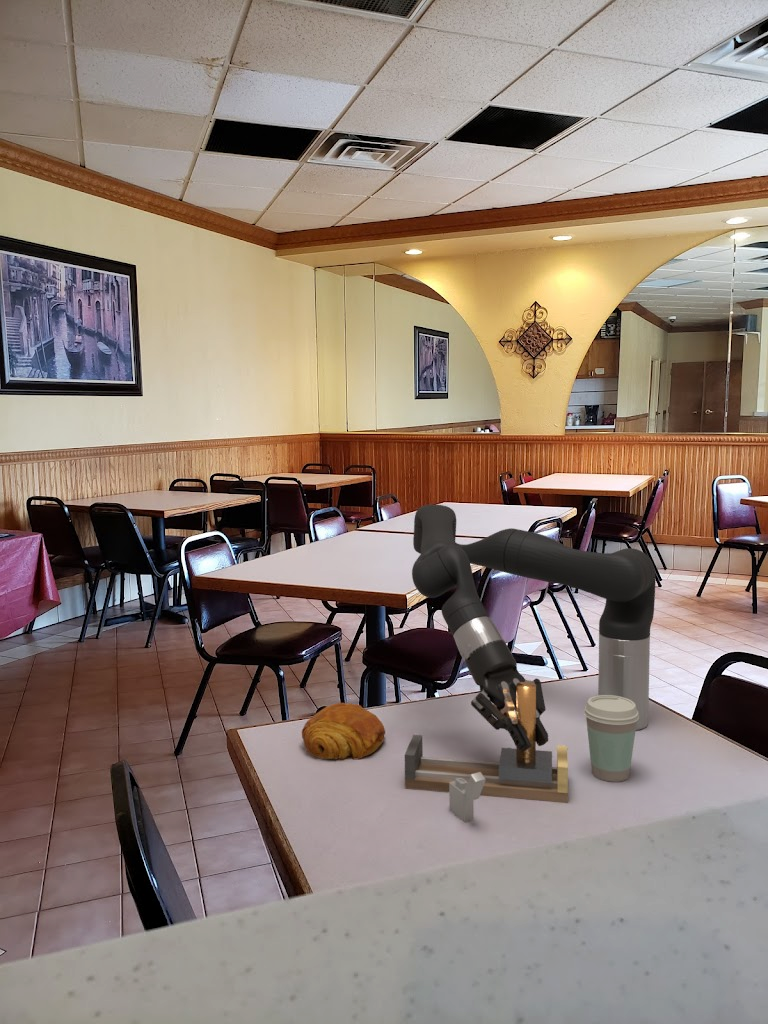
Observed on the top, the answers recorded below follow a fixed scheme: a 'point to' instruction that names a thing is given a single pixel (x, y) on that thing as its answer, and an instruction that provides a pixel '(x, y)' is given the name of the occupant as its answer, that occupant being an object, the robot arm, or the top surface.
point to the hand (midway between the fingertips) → (535, 745)
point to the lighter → (465, 795)
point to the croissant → (343, 732)
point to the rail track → (443, 771)
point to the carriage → (531, 761)
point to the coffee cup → (611, 735)
